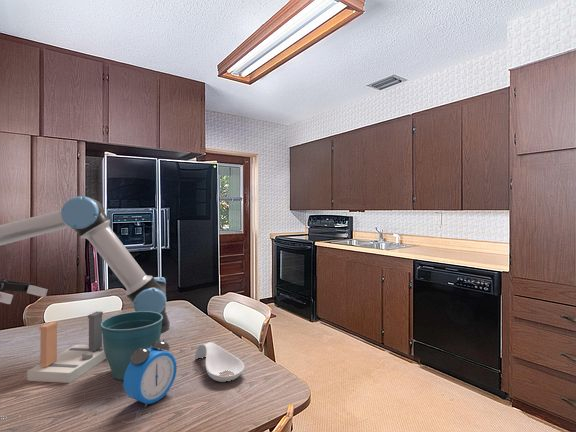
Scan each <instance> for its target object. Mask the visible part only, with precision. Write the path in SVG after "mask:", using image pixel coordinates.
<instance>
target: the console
mask: <svg viewBox="0 0 576 432" xmlns="http://www.w3.org/2000/svg"><path fill="white" fill-rule="evenodd" d="M105 360H107V358H106V355H105V352H104V346H103V345H102V347H101V348H99V349H97V350H96V351H89V344H75V345H73V346H70V347H69V348H67V349H65V350H63V351H61V352H59V353H57V361H56V362H54V363H52V364H50V365H49V366H47V367H41V366H40V363H39V364H37V365H35V366H34V367H32V368H30V369H28V370H27V371H26V373H27V374H26V381H27V382H28V381H30V382H44V383H45V382H48V383H65V384H68V383H69V384H71V383H72V382H75V380H77V379H79V377H81V376H82V375H84V374H85V373H87V372H88V371H90V370H91V369H93V368H94V367H95V366H98V365H99V364H100V363H103V362H104V361H105Z"/></svg>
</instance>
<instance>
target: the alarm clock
mask: <svg viewBox="0 0 576 432" xmlns="http://www.w3.org/2000/svg"><path fill="white" fill-rule="evenodd" d="M152 347H155V348H152ZM156 348H158V349H156ZM170 350H171V346H170V344H169V342H167V341H165V339H163V340H162V339H160V340H159V341H156V342H155V343H154V344H153V345H152V346H151V347H149V348H139V349H137V350H135V351H134V352H133V354H132V355H131V358H130V361H131V362H130V363H129V365H128V367H127V369H126V372H125V375H124V380H122V381H123V390H124V392H125V394H126V395H127V396H128V397H129V398H131V399H133V400H134V401H138V402H141V403H143V404H145V405H144V408H145V407H146V408H147V406H148V405H149V404H154V403H157V402H158V401H160V400H161V399H162V398H164V397H165V396H167V395H168V392H169V391H170V389H171V388H172V386H173V383H174V382H175V379H176V375H177V361H176V358H175V357H174V355H173V354H172V353H171V352H169V351H170ZM166 394H167V395H166Z"/></svg>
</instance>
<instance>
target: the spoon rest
mask: <svg viewBox="0 0 576 432" xmlns="http://www.w3.org/2000/svg"><path fill="white" fill-rule="evenodd" d="M205 356H206V358H205V363H204V365H205V369H206V373H207V375H208V376H209V377H210V378H211V379H212V380H214V381H216V382H219V383H225V382H226V381H228V382H232V381H234V380H236V379H237V378H239V377H240V376H241V375H242V373H244V370H245V363H243V361H242V360H241V359H240V358H238V357H237V356H235V355H233V354H232V353H230V352H229V351H227V350H226V349H224V348H223V347H221V346H220V345H218V344H216V343H215V342H210V341H209V342H207V343H202V344H200V345H199V346H198V347H197V348H196V351H195V355H194V360H195V359H198V358H202V357H205ZM202 359H203V358H202ZM225 370H226V371H227V370H228V371H231V372H233V373H234V375H229V376H219V375H220V374H219V373H220V372H223V371H225ZM231 380H232V381H231Z"/></svg>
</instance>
